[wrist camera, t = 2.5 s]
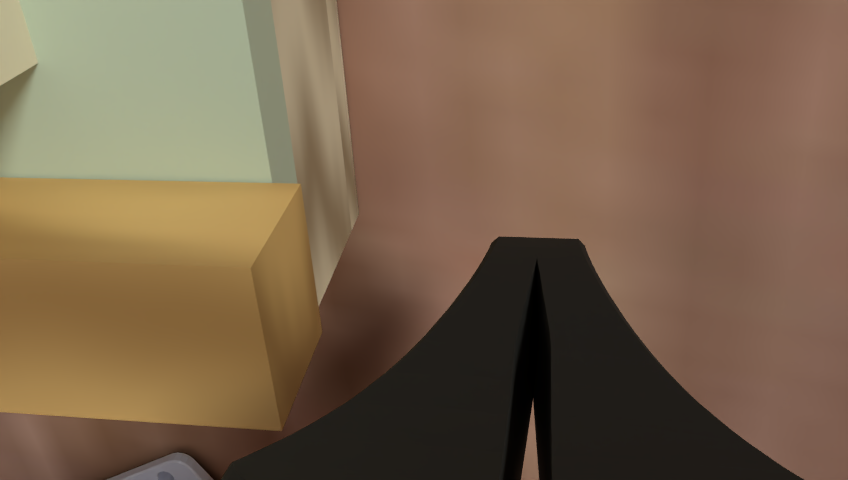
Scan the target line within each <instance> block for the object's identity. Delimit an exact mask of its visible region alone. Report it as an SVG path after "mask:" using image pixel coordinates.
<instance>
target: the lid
mask: <svg viewBox="0 0 848 480" xmlns="http://www.w3.org/2000/svg"><path fill="white" fill-rule="evenodd" d="M0 177H6V178H54V179H103V180H151V181H199V182H247V183H295V184H297V177H296V170H295V163H294V157H293V150H292V143H291V136H290V129H289V123H288V116H287V109H286V102H285V95H284V88H283V82H282V75H281V68H280V61H279V54H278V48H277V41H276V34H275V27H274V20H273V13H272V7H271V0H0Z"/></svg>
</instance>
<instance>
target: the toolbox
mask: <svg viewBox="0 0 848 480" xmlns="http://www.w3.org/2000/svg"><path fill="white" fill-rule="evenodd" d="M271 7H272V13H273V20H274V27H275V34H276V41H277V48H278V54H279V61H280V68H281V75H282V82H283V88H284V95H285V102H286V109H287V116H288V123H289V129H290V136H291V143H292V150H293V157H294V163H295V170H296V177H297V184H301V188H302V195H303V202H304V209H305V216H306V223H307V230H308V237H309V244H310V251H311V258H312V265H313V272H314V278H315V285H316V292H317V299H318V306H319V305H320V303H321V300H322V298H323V296H324V293H325V291H326V289H327V286H328V284H329V282H330V279H331V277H332V275H333V273H334V270H335V268H336V266H337V263H338V261H339V259H340V256H341V254H342V252H343V249H344V247H345V245H346V242H347V240H348V238H349V235H350V233H351V231H352V228H353V226H354V224H355V222H356V219H357V217H358V215H359V210H358V201H357V191H356V182H355V172H354V163H353V153H352V144H351V134H350V125H349V115H348V105H347V96H346V86H345V77H344V67H343V58H342V48H341V39H340V29H339V20H338V10H337V1H336V0H271Z"/></svg>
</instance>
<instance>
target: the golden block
mask: <svg viewBox="0 0 848 480" xmlns="http://www.w3.org/2000/svg"><path fill="white" fill-rule="evenodd" d="M321 334H322V327H321V320H320V313H319V306H318V299H317V292H316V285H315V278H314V272H313V265H312V258H311V251H310V244H309V237H308V230H307V223H306V216H305V209H304V202H303V195H302V188H301V184H295V183H247V182H199V181H151V180H103V179H54V178H6V177H0V412H8V413H23V414H38V415H52V416H67V417H82V418H96V419H111V420H126V421H141V422H155V423H170V424H185V425H199V426H214V427H229V428H244V429H258V430H273V431H282V430H283V427H284V425H285V422H286V420H287V417H288V415H289V412H290V410H291V407H292V405H293V403H294V400H295V398H296V395H297V393H298V390H299V388H300V385H301V383H302V380H303V378H304V376H305V373H306V371H307V368H308V366H309V363H310V361H311V358H312V356H313V353H314V351H315V348H316V346H317V344H318V341H319V339H320V336H321Z"/></svg>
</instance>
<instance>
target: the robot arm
mask: <svg viewBox="0 0 848 480" xmlns="http://www.w3.org/2000/svg"><path fill="white" fill-rule="evenodd" d="M532 402H534V416H535V429H536V443H537V456H538V469H539V480H804V479H802V478H800V477H799V476H797V475H795V474H794V473H792V472H790V471H789V470H787V469H785V468H784V467H782V466H781V465H779V464H778V463H776V462H775V461H774V460H772V459H771V458H769V457H768V456H766V455H765V454H764V453H762V452H761V451H759V450H758V449H756V448H755V447H753V446H752V445H751V444H749V443H748V442H746V441H745V440H744V439H742V438H741V437H740V436H739V435H737V434H736V433H735V432H733V431H732V430H731V429H729V428H728V427H727V426H726V425H725V424H723V423H722V422H721V421H720V420H719V419H717V418H716V417H715V416H714V415H713V414H711V413H710V412H709V411H708V410H707V409H705V408H704V407H703V406H702V405H701V404H699V403H698V402H697V401H696V400H695V399H694V398H693V397H692V396H691V395H690V394H689V393H688V392H687V391H686V390H685V389H684V388H683V387H682V386H681V385H680V384H679V383H678V382H677V381H676V380H675V379H674V378H673V377H672V376H671V375H670V374H669V373H668V372H667V371H666V370H665V368H664V367H663V366H662V365H661V364H660V363H659V362H658V361H657V359H656V358H655V357H654V356H653V355H652V353H651V352H650V351H649V350H648V349H647V347H646V346H645V345H644V343H643V342H642V341H641V340H640V338H639V337H638V336H637V334H636V333H635V332H634V331H633V329H632V328H631V326H630V325H629V324H628V322H627V321H626V319H625V318H624V316H623V315H622V313H621V312H620V310H619V309H618V307H617V306H616V304H615V303H614V301H613V300H612V298H611V297H610V295H609V294H608V292H607V290H606V289H605V287H604V285H603V283H602V282H601V280H600V278H599V276H598V274H597V273H596V271H595V269H594V267H593V265H592V263H591V260H590V258H589V256H588V253H587V251H586V248H585V246H584V245H583V244H582V242H581V241H580V240H579V239H559V238H526V237H498V238H497V239H496V240H494V241H493V242H492V243H491V245H490V248H489V250H488V252H487V253H486V255H485V257H484V259H483V261H482V262H481V264H480V265H479V267H478V269H477V270H476V272H475V273H474V275H473V276H472V278H471V279H470V281H469V282H468V283H467V285H466V286H465V287H464V289H463V290H462V291H461V293H460V294H459V295H458V297H457V298H456V299H455V301H454V302H453V304H452V305H451V306H450V307H449V309H448V310H447V311H446V312H445V313H444V314H443V315H442V317H441V318H440V319H439V320H438V321H437V322H436V323H435V325H434V326H433V327H432V328H431V329H430V330H429V331H428V333H427V334H426V335H425V336H424V337H423V338H422V339H421V340H420V341H419V342H418V343H417V344H416V345H415V346H414V347H413V348H412V349H411V350H410V351H409V352H408V353H407V354H406V355H405V356H404V357H403V358H402V359H401V360H399V361H398V362H397V363H396V364H395V365H394V366H393V367H392V368H391V369H389V370H388V371H387V372H386V373H385V374H383V375H382V376H381V377H380V378H378V379H377V380H376V381H375V382H373V383H372V384H371V385H370V386H368V387H367V388H366V389H364V390H363V391H362V392H360V393H359V394H358V395H356V396H355V397H354V398H352V399H351V400H349V401H348V402H346V403H345V404H343V405H342V406H340V407H338V408H337V409H335V410H334V411H332V412H331V413H329V414H327V415H326V416H324V417H322V418H321V419H319V420H317V421H315V422H314V423H312V424H310V425H308V426H307V427H305V428H303V429H301V430H299V431H298V432H296V433H294V434H292V435H290V436H288V437H286V438H284V439H282V440H280V441H277V442H275V443H273V444H271V445H269V446H267V447H265V448H263V449H261V450H258V451H256V452H254V453H252V454H250V455H248V456H246V457H243V458H241V459H239V460H236V461H234V462H232V463H231V464H230V466H229V467H228V469H227V470H226V472H225V474H224V475H223V477H222V479H221V480H521V474H522V468H523V461H524V455H525V448H526V442H527V435H528V428H529V422H530V415H531V408H532ZM107 480H213V479H212V478H211V476H210V475H209V474H208V473H207V472H206V471H205V470H204V469H203V468H202V467H201V466H200V465H199V464H198V463H197V462H196V461H195V460H194V459H193V458H192V457H191V456H189V455H187V454H185V453H179V452H177V453H172V454H169V455H167V456H164V457H162V458H159V459H157V460H154V461H152V462H149V463H147V464H144V465H142V466H139V467H137V468H134V469H132V470H129V471H127V472H124V473H122V474H119V475H117V476H114V477H112V478H109V479H107Z"/></svg>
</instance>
